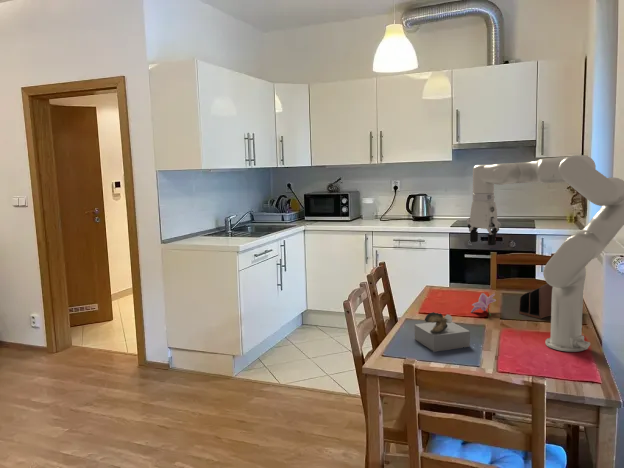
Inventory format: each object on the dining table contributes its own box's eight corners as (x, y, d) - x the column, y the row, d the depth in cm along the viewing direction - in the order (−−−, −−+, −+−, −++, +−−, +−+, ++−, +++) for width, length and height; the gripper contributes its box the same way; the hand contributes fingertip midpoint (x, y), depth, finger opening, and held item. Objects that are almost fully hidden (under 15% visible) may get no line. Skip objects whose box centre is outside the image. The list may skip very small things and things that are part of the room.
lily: (501, 314, 221) (492, 293, 224) (505, 310, 210) (496, 288, 213) (474, 322, 222) (465, 301, 225) (477, 319, 211) (468, 297, 214)
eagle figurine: (430, 321, 188) (419, 323, 181) (441, 306, 185) (431, 307, 178) (446, 335, 184) (435, 338, 176) (458, 320, 181) (447, 322, 174)
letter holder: (568, 311, 219) (569, 278, 217) (540, 319, 209) (541, 285, 207) (546, 306, 228) (547, 274, 226) (518, 314, 217) (519, 281, 215)
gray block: (469, 347, 180) (469, 331, 179) (434, 353, 176) (434, 336, 175) (448, 335, 193) (448, 320, 192) (414, 340, 189) (414, 324, 188)
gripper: (508, 198, 185) (507, 245, 188) (475, 196, 201) (475, 240, 203) (491, 199, 183) (491, 247, 185) (459, 197, 198) (459, 241, 201)
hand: (482, 243), depth 194 cm, fingers open, 9 cm apart
